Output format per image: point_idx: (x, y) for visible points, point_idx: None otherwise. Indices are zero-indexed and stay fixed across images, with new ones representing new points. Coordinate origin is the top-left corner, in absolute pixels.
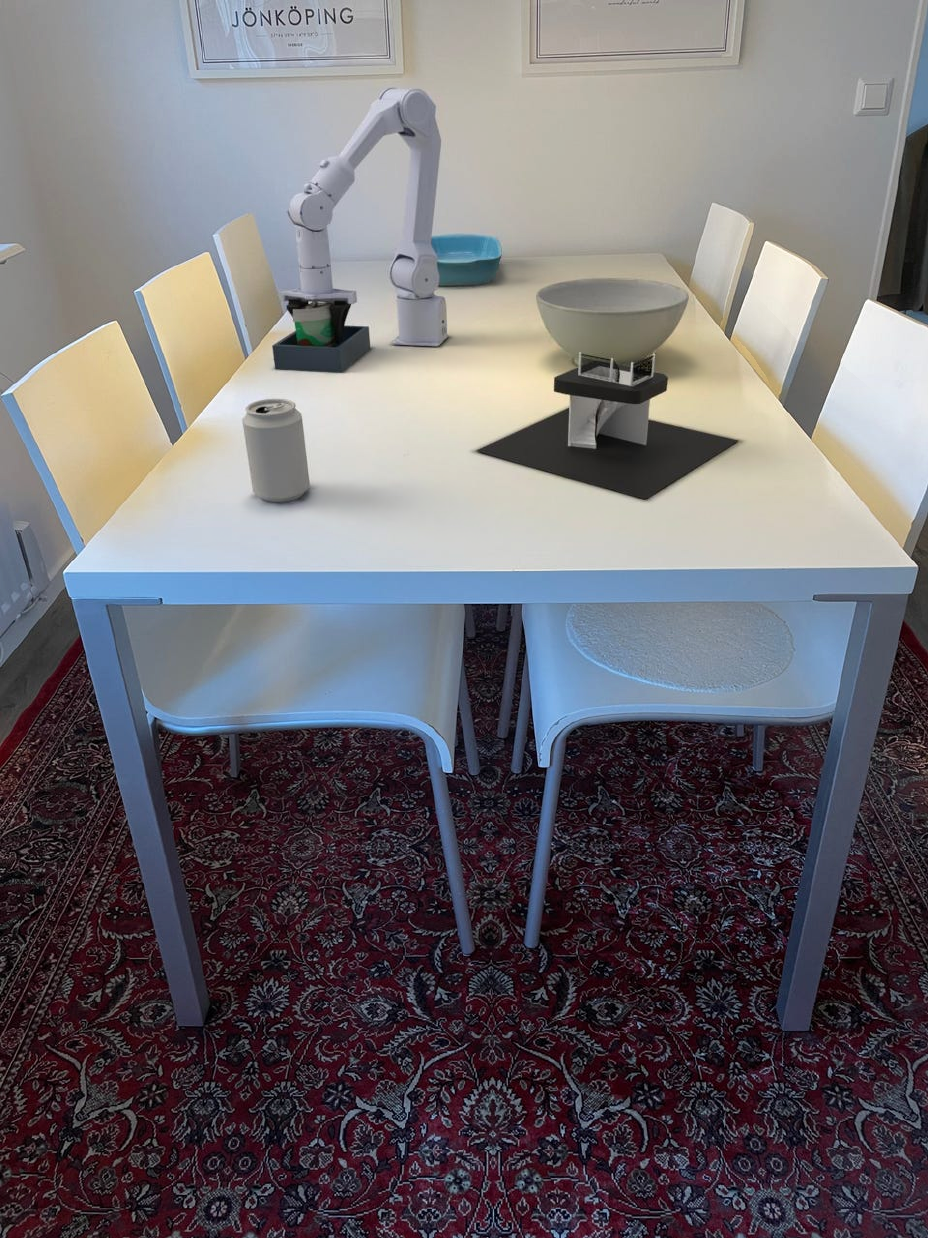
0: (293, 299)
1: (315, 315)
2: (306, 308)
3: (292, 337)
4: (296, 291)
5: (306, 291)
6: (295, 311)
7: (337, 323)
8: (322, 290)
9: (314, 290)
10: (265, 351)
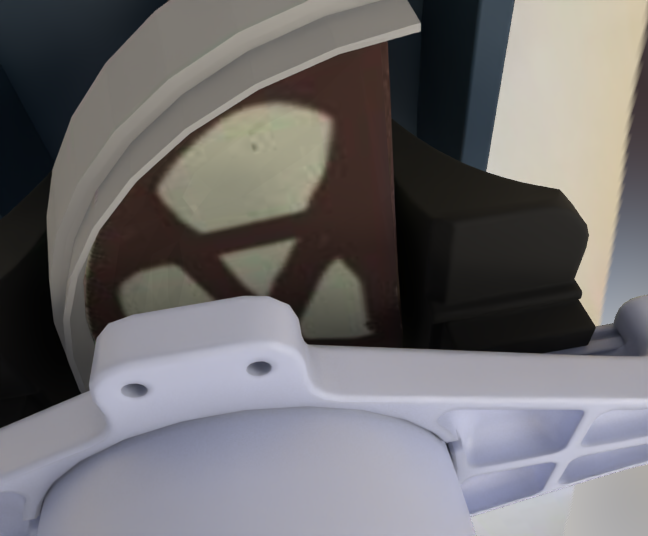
0: (533, 342)
1: (93, 126)
2: (339, 270)
3: (459, 110)
4: (528, 441)
5: (311, 441)
6: (364, 18)
7: (5, 226)
8: (54, 527)
9: (154, 491)
10: (625, 105)
